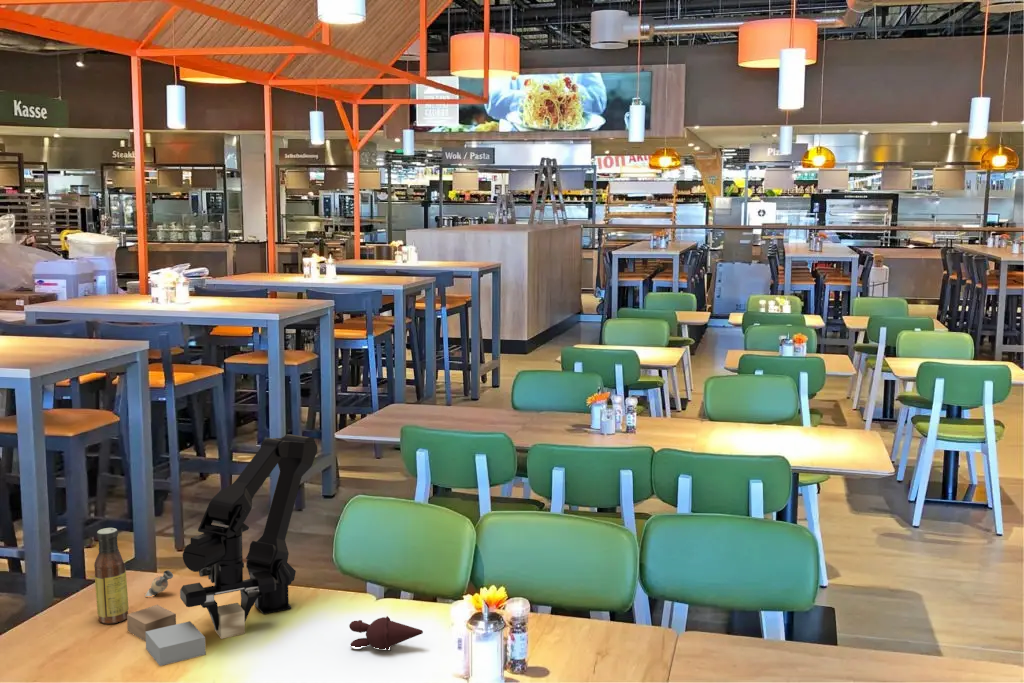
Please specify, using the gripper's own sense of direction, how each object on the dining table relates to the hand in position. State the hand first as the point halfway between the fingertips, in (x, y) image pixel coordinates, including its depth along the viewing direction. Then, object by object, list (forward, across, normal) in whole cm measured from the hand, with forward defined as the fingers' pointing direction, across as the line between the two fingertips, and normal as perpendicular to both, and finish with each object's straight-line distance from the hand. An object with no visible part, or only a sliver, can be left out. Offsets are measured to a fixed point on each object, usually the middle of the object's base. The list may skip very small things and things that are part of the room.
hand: (229, 627), depth 211 cm
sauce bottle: (+1, +20, -18) cm, 27 cm away
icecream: (+1, -25, +23) cm, 34 cm away
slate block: (+1, +12, +4) cm, 13 cm away
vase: (+1, +8, -26) cm, 28 cm away
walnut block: (+1, +14, -8) cm, 16 cm away
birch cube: (+1, 0, 0) cm, 1 cm away
